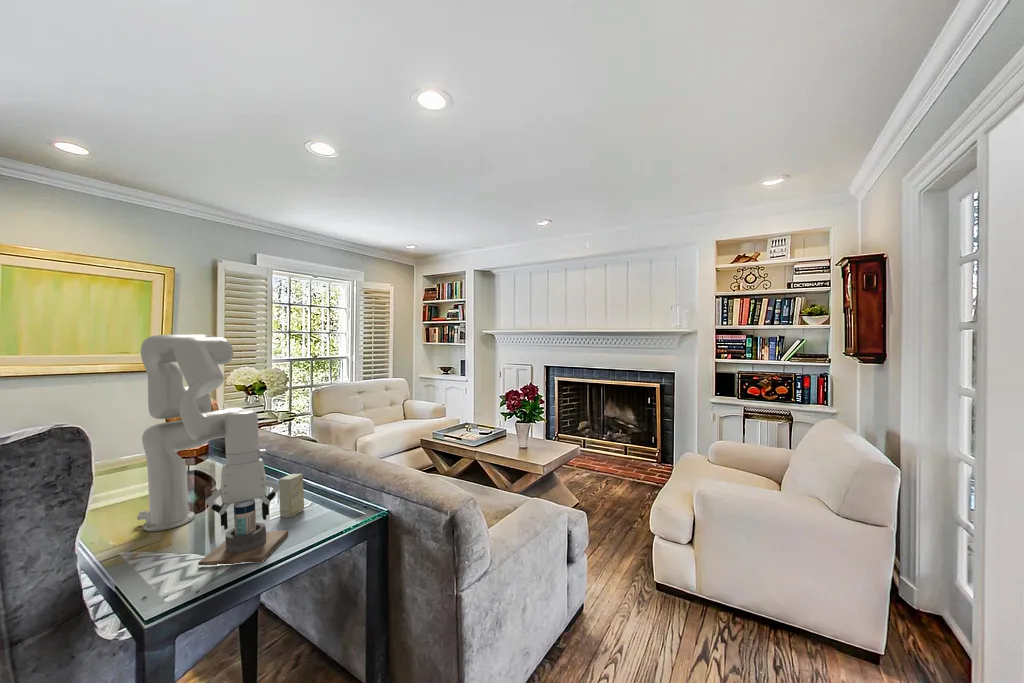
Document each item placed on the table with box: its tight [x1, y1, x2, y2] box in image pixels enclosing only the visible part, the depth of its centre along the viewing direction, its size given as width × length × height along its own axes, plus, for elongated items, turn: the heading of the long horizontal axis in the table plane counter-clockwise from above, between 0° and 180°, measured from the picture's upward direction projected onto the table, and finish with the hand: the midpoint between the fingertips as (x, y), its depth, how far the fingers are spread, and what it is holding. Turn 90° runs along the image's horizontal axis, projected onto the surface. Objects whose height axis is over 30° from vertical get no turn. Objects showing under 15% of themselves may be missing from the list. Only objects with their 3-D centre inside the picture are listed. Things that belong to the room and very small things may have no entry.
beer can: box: [233, 499, 257, 536], centre depth 112 cm, size 5×5×12 cm
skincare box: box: [278, 473, 305, 518], centre depth 136 cm, size 6×4×12 cm
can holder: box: [198, 522, 289, 566], centre depth 112 cm, size 15×15×6 cm
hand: (245, 522), depth 112 cm, fingers open, 8 cm apart
